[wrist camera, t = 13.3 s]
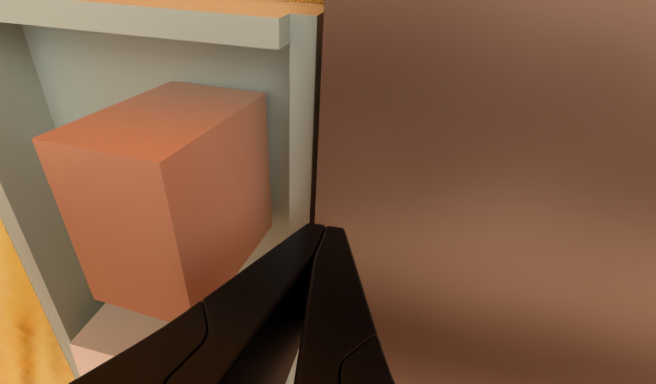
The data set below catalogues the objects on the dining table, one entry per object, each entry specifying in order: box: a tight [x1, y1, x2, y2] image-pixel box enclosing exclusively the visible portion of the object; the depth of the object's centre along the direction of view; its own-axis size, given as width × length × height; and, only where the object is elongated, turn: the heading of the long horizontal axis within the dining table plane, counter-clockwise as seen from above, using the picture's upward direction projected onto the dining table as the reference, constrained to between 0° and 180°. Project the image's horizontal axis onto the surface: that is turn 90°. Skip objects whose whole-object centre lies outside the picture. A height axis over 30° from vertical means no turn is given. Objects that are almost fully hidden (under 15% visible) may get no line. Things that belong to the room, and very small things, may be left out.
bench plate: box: [315, 0, 656, 384], centre depth 13 cm, size 20×12×3 cm, turn 177°
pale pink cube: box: [69, 303, 169, 376], centre depth 17 cm, size 4×4×3 cm
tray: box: [0, 0, 324, 384], centre depth 15 cm, size 19×10×3 cm, turn 177°
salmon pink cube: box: [31, 81, 273, 322], centre depth 11 cm, size 4×4×3 cm
